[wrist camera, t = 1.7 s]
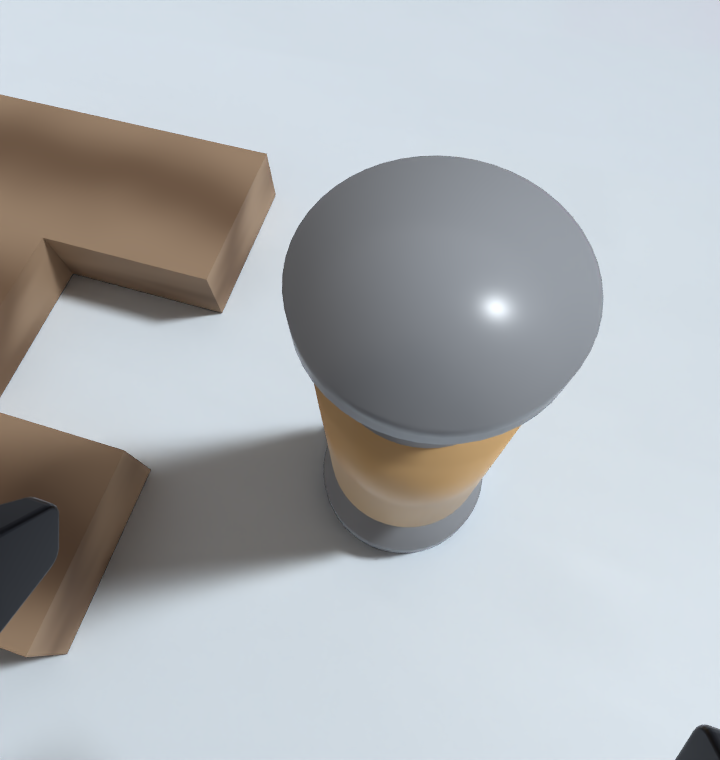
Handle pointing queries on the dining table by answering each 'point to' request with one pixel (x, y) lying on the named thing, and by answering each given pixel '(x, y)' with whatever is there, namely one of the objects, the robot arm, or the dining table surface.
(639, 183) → the dining table surface
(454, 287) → the bobbin
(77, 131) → the notched board
